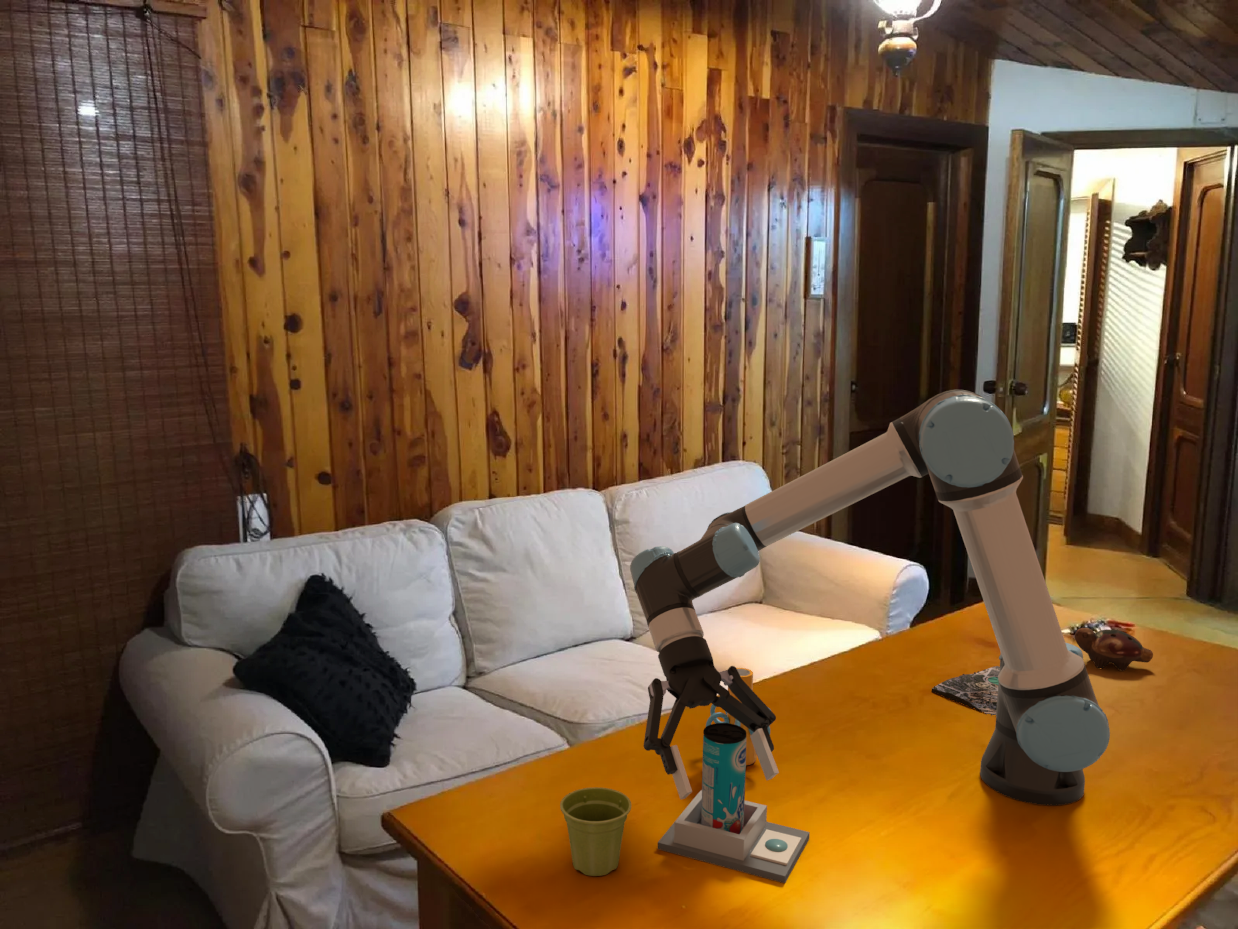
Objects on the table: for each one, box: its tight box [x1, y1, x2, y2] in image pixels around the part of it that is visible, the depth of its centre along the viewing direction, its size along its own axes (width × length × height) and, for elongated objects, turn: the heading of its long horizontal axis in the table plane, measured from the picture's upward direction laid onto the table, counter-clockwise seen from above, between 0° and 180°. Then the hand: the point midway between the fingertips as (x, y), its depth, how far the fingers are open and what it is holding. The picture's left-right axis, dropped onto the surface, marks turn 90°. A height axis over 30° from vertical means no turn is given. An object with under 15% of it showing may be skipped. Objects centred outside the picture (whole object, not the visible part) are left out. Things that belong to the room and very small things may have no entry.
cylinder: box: [705, 667, 771, 767], centre depth 160 cm, size 12×10×15 cm
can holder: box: [657, 789, 810, 884], centre depth 135 cm, size 18×12×4 cm, turn 64°
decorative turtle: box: [1074, 627, 1154, 672], centre depth 204 cm, size 10×15×8 cm, turn 82°
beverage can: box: [701, 723, 747, 834], centre depth 135 cm, size 6×6×15 cm
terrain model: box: [931, 665, 1000, 716], centre depth 189 cm, size 20×15×3 cm
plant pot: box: [559, 786, 632, 877], centre depth 129 cm, size 9×9×9 cm
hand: (730, 786), depth 133 cm, fingers open, 13 cm apart
